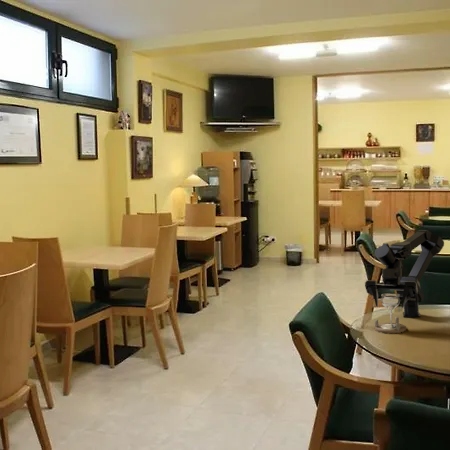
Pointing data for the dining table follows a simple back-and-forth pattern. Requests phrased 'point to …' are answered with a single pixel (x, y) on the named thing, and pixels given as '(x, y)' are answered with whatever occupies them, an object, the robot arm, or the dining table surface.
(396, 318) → the glass stand
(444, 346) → the dining table surface
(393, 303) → the wineglass
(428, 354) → the dining table surface
